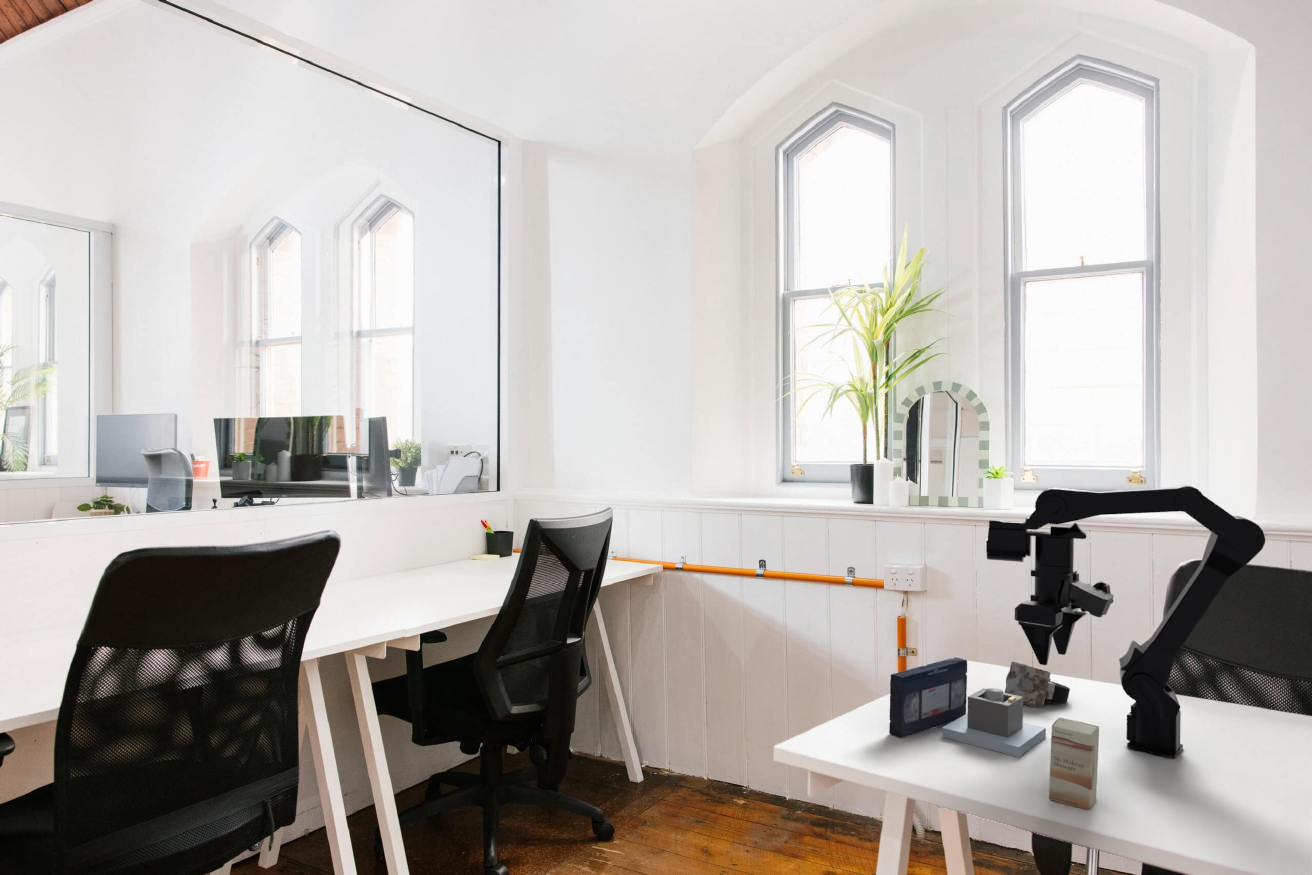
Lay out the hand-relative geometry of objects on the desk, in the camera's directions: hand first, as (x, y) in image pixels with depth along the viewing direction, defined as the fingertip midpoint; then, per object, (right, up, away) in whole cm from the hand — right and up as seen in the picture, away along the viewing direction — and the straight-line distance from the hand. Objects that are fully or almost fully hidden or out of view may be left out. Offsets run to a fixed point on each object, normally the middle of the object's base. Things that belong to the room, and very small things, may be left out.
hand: (1052, 659), depth 138 cm
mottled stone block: (+5, -12, +18) cm, 22 cm away
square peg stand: (-11, -12, -2) cm, 16 cm away
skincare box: (-10, -12, -26) cm, 30 cm away
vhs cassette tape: (-19, -12, +3) cm, 23 cm away
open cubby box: (-10, -10, -2) cm, 15 cm away
